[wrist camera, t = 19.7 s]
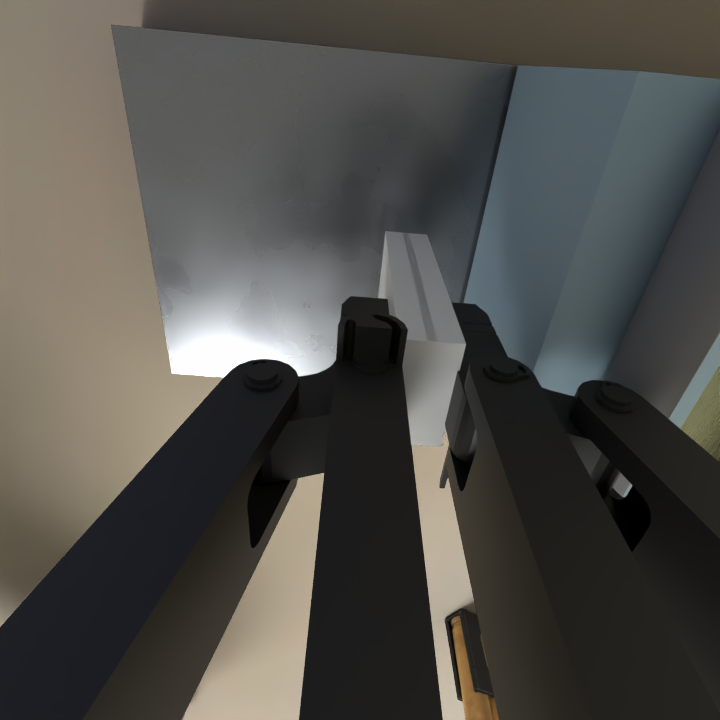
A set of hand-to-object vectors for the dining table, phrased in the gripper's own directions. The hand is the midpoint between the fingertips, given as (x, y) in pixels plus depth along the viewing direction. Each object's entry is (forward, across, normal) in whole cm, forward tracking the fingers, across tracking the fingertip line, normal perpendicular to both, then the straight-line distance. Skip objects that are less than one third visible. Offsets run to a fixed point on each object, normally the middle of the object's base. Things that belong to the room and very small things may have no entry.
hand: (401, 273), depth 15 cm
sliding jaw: (+1, +5, 0) cm, 5 cm away
